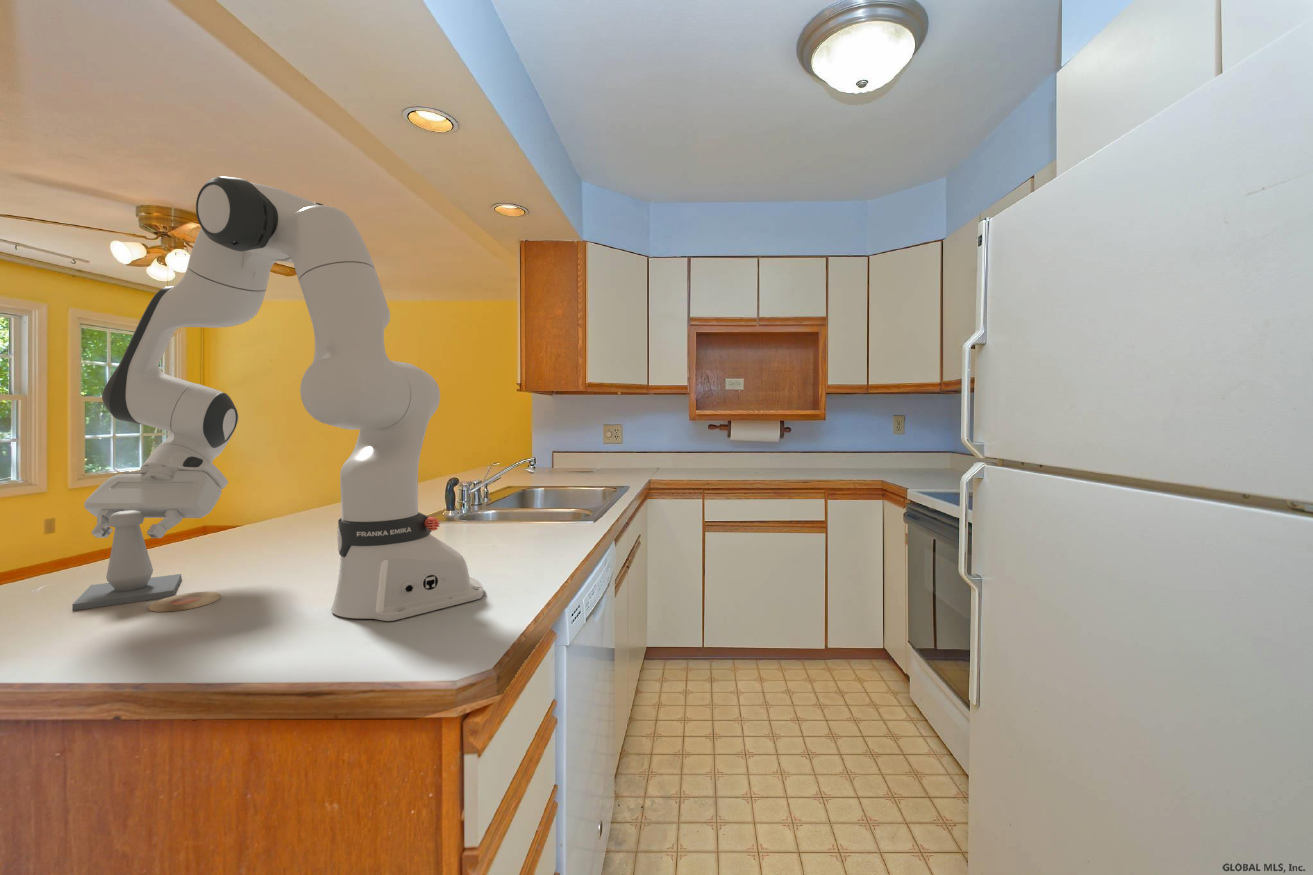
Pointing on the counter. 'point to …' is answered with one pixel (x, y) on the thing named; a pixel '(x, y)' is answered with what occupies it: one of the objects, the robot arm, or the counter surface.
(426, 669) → the counter surface
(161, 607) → the coaster
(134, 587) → the salt shaker
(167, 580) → the mat
